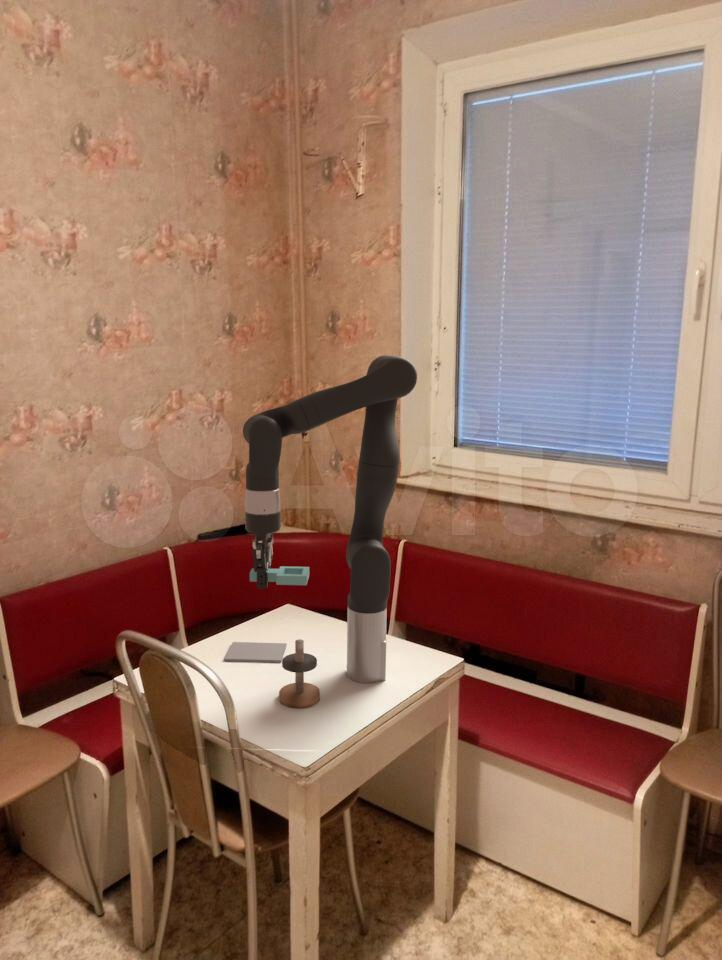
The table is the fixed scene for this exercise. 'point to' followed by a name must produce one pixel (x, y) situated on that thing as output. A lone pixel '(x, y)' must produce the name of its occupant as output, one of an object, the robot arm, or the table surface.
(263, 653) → the mat
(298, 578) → the teal square frame paddle
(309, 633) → the table surface
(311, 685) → the stand
